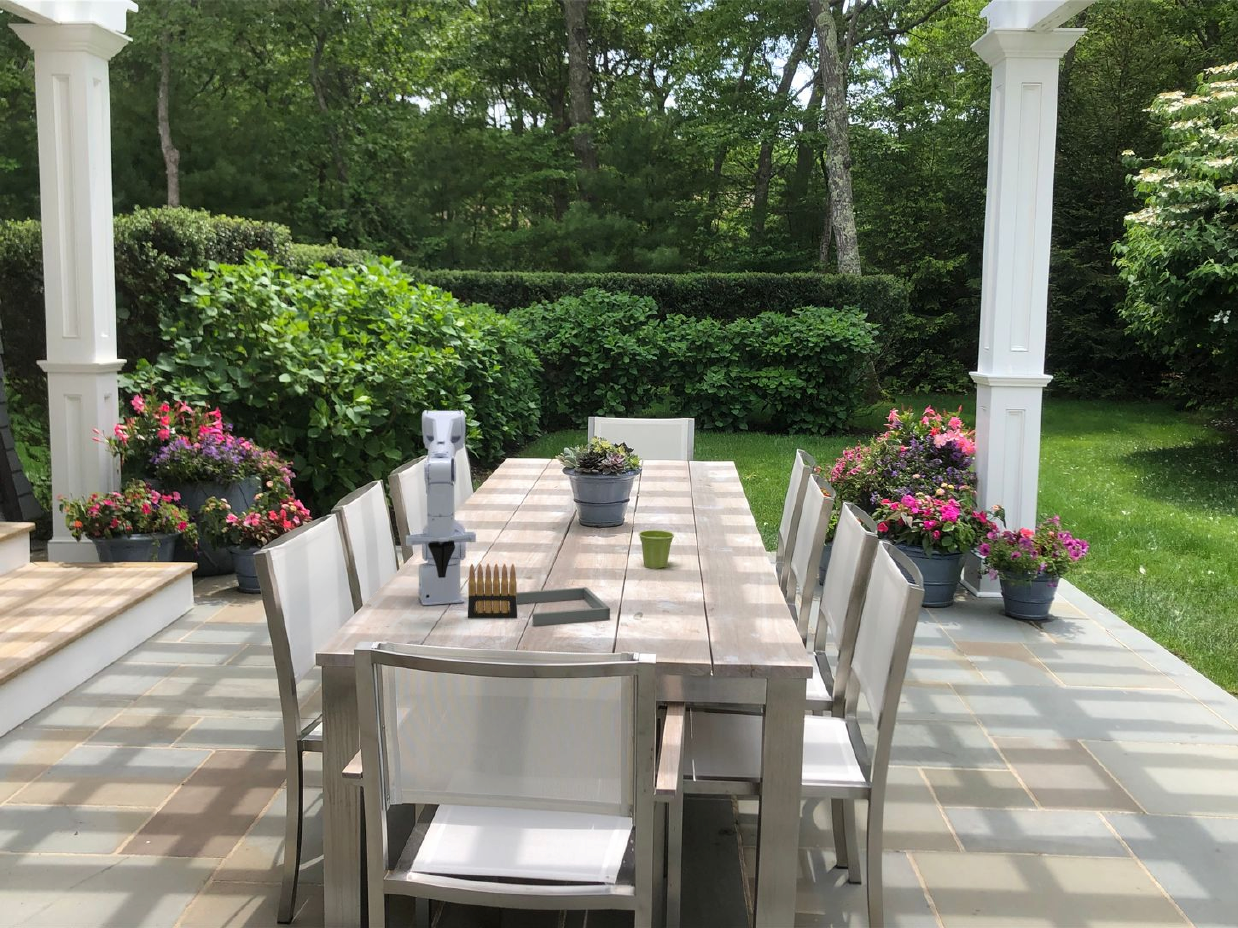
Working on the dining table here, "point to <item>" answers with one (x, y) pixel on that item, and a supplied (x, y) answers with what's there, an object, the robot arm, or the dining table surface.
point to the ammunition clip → (478, 596)
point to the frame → (570, 616)
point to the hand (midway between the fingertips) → (441, 576)
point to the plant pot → (656, 547)
